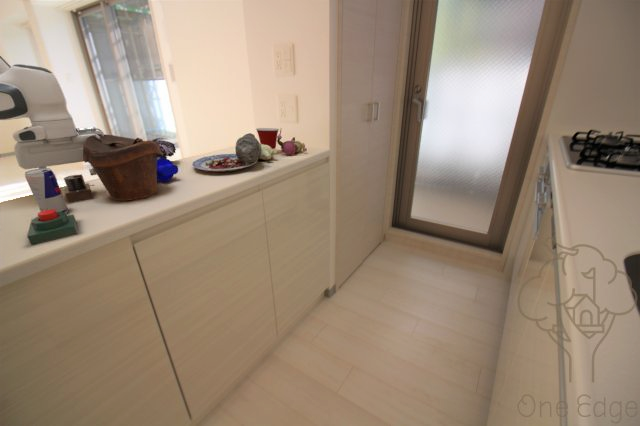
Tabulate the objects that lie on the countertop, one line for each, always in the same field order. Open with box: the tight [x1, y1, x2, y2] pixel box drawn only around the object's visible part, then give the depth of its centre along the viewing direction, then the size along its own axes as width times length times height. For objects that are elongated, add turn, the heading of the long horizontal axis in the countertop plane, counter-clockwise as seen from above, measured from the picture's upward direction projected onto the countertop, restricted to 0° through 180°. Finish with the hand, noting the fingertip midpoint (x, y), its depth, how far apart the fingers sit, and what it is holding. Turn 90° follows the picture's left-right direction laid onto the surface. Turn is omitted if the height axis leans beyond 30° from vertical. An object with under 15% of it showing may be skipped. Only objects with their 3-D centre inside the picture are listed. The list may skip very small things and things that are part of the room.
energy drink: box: [24, 167, 69, 214], centre depth 75 cm, size 5×5×12 cm
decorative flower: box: [151, 137, 177, 159], centre depth 120 cm, size 15×12×15 cm
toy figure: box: [157, 158, 179, 183], centre depth 103 cm, size 9×10×15 cm
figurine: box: [277, 129, 308, 157], centre depth 138 cm, size 11×13×15 cm
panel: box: [60, 183, 95, 204], centre depth 88 cm, size 9×9×3 cm
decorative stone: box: [234, 132, 262, 163], centre depth 118 cm, size 22×10×10 cm
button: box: [37, 209, 58, 221], centre depth 66 cm, size 3×3×2 cm
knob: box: [63, 173, 87, 190], centre depth 87 cm, size 4×4×4 cm
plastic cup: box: [255, 127, 280, 149], centre depth 138 cm, size 11×11×12 cm
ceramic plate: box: [191, 153, 258, 173], centre depth 119 cm, size 26×26×3 cm
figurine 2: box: [276, 136, 296, 152], centre depth 145 cm, size 8×8×6 cm
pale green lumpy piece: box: [257, 144, 278, 161], centre depth 129 cm, size 13×7×15 cm
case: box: [83, 133, 164, 201], centre depth 87 cm, size 18×20×18 cm
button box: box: [26, 212, 78, 246], centre depth 67 cm, size 8×8×4 cm
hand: (74, 177), depth 86 cm, fingers open, 8 cm apart
